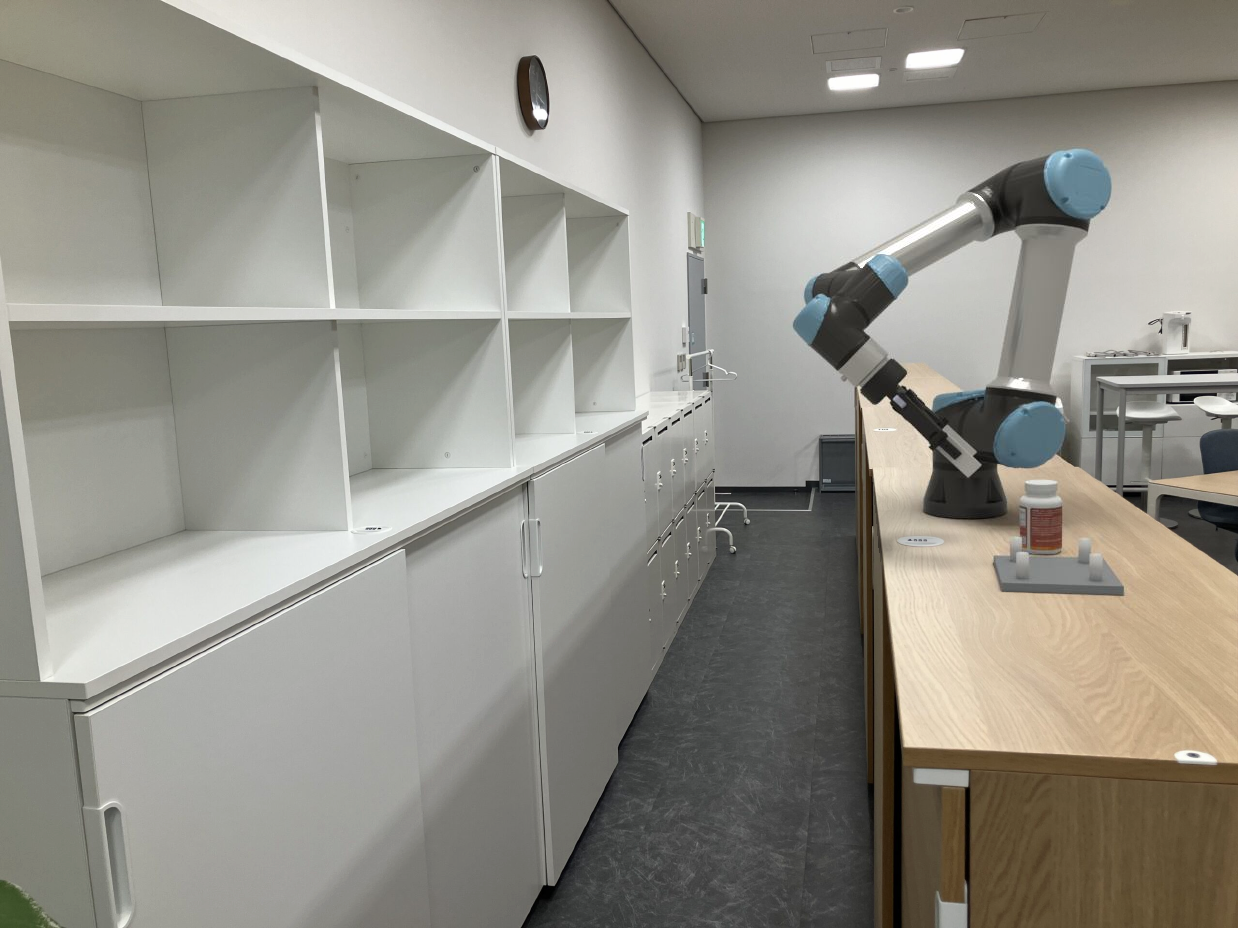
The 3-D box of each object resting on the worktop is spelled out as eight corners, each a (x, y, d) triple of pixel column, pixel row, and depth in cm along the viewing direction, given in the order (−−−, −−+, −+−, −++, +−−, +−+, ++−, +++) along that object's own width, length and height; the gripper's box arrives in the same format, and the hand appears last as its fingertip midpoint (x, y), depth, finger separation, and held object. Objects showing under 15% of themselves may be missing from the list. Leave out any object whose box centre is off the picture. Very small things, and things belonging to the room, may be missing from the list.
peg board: (993, 562, 142) (993, 532, 141) (1102, 565, 137) (1103, 534, 137) (1001, 591, 128) (1001, 557, 127) (1123, 595, 123) (1124, 560, 123)
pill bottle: (1070, 550, 147) (1071, 481, 145) (1047, 557, 143) (1048, 486, 142) (1034, 543, 152) (1034, 477, 150) (1011, 550, 149) (1011, 482, 147)
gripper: (862, 384, 164) (952, 467, 161) (851, 396, 140) (957, 495, 138) (893, 352, 161) (985, 437, 159) (888, 360, 138) (996, 459, 135)
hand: (972, 464), depth 148 cm, fingers open, 13 cm apart
